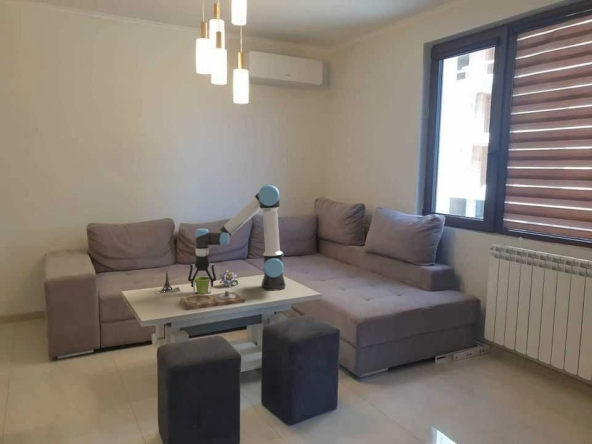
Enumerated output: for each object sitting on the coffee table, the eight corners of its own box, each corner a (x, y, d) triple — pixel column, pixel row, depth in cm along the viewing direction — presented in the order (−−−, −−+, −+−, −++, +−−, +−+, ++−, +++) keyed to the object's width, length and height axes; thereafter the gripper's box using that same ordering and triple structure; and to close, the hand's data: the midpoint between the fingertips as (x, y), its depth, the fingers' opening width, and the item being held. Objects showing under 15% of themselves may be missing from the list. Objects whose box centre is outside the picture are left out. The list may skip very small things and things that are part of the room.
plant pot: (206, 295, 268) (206, 280, 267) (191, 294, 269) (191, 279, 268) (212, 291, 277) (212, 277, 276) (198, 290, 279) (198, 276, 278)
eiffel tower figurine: (155, 294, 269) (154, 272, 268) (153, 290, 279) (152, 268, 277) (181, 292, 275) (180, 270, 274) (178, 288, 284) (178, 266, 283)
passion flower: (229, 295, 288) (220, 282, 281) (222, 288, 296) (213, 275, 290) (243, 284, 291) (234, 271, 284) (236, 277, 299) (228, 264, 293)
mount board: (234, 295, 269) (234, 286, 268) (244, 302, 255) (244, 293, 254) (179, 302, 253) (179, 293, 253) (187, 310, 240) (187, 300, 239)
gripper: (221, 253, 275) (221, 290, 278) (184, 253, 273) (184, 290, 275) (220, 256, 268) (220, 293, 271) (182, 256, 265) (182, 294, 268)
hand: (202, 292), depth 273 cm, fingers open, 9 cm apart
